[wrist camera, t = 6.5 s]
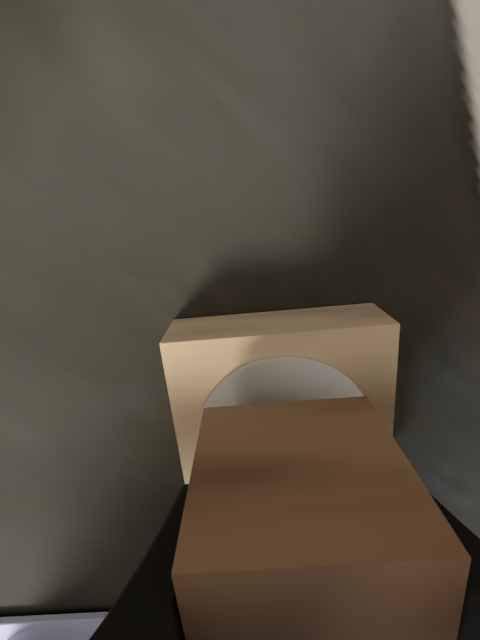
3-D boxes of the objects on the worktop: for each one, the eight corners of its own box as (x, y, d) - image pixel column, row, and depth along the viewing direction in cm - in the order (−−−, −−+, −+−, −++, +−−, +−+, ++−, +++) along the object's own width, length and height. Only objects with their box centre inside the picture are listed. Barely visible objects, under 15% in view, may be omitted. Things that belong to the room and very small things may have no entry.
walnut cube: (362, 520, 12) (441, 728, 7) (220, 528, 12) (206, 736, 7) (366, 395, 10) (471, 558, 6) (203, 407, 11) (171, 574, 6)
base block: (366, 464, 16) (390, 516, 13) (199, 475, 16) (190, 528, 14) (372, 302, 13) (404, 327, 11) (173, 319, 14) (157, 347, 11)
